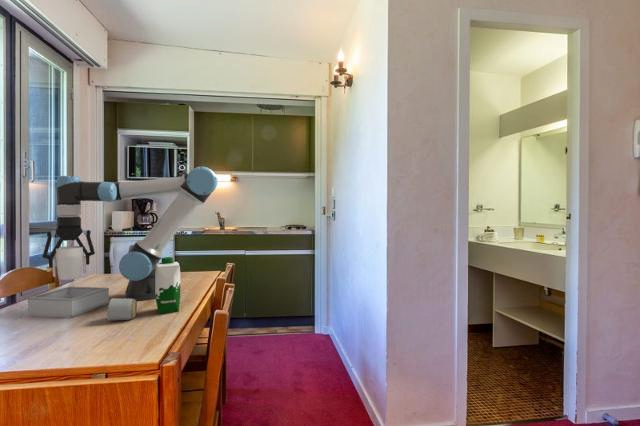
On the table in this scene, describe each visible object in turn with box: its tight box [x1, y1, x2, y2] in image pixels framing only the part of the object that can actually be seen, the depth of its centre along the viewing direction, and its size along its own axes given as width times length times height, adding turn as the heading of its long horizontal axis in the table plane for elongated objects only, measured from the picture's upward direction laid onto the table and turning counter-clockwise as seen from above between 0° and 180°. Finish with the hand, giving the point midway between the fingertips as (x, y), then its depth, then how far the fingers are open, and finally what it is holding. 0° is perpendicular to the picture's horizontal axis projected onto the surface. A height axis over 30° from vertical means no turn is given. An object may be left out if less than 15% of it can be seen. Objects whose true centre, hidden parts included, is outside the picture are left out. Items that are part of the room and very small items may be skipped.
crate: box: [27, 286, 110, 319], centre depth 136 cm, size 18×18×7 cm
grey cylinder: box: [107, 297, 138, 322], centre depth 125 cm, size 11×8×8 cm
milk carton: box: [155, 256, 181, 315], centre depth 134 cm, size 9×9×20 cm
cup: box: [54, 245, 85, 281], centre depth 135 cm, size 9×9×12 cm
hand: (69, 274), depth 135 cm, fingers closed on cup, 9 cm apart
